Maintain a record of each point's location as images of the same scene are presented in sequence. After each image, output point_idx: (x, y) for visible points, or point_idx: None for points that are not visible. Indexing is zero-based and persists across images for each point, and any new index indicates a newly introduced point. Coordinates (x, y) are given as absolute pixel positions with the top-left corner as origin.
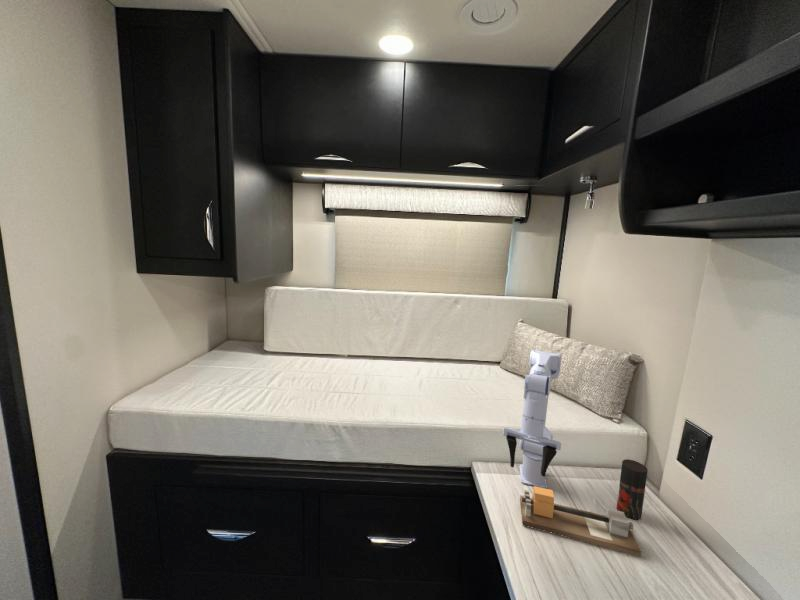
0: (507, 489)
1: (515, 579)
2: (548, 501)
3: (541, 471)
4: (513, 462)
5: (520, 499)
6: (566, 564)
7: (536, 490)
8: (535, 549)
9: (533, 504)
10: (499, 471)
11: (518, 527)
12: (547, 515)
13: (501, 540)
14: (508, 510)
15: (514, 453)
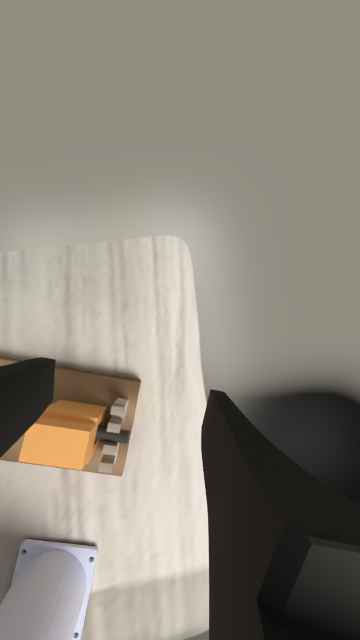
0: (148, 505)
1: (187, 255)
2: (53, 419)
3: (43, 392)
4: (222, 399)
5: (124, 461)
6: (78, 296)
7: (80, 446)
8: (131, 321)
9: (99, 426)
10: (155, 591)
11: (151, 373)
12: (71, 402)
13: (196, 332)
14: (163, 422)
15: (238, 436)
